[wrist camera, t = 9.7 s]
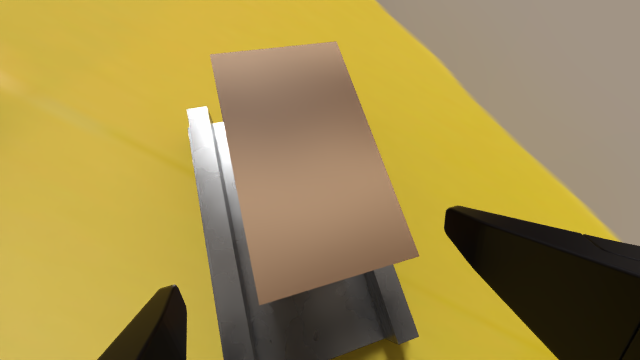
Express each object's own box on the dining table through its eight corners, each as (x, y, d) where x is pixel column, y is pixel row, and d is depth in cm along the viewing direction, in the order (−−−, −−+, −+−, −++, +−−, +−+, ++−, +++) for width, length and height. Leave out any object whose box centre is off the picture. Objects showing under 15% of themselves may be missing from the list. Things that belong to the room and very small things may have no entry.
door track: (403, 326, 17) (427, 333, 15) (232, 391, 15) (222, 413, 12) (328, 112, 22) (336, 87, 20) (191, 135, 20) (178, 110, 17)
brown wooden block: (342, 274, 17) (419, 255, 8) (269, 296, 16) (259, 305, 7) (308, 158, 20) (336, 41, 10) (243, 171, 19) (210, 54, 9)
